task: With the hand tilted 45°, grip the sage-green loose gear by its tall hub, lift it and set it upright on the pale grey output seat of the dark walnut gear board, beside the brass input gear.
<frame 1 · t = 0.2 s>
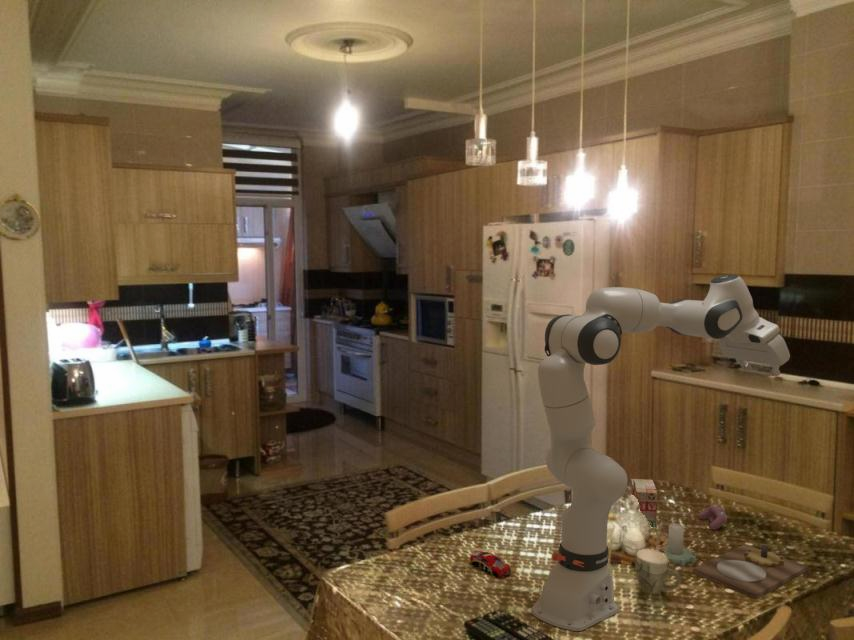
hand: (761, 372, 190), 54 cm above the table, tool tilted 30°, fingers open, 8 cm apart
loose gear: (675, 557, 199), on the table
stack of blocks: (642, 517, 230), on the table
race car: (490, 570, 193), on the table
purple curved piece: (713, 525, 223), on the table
gear board: (750, 571, 190), on the table
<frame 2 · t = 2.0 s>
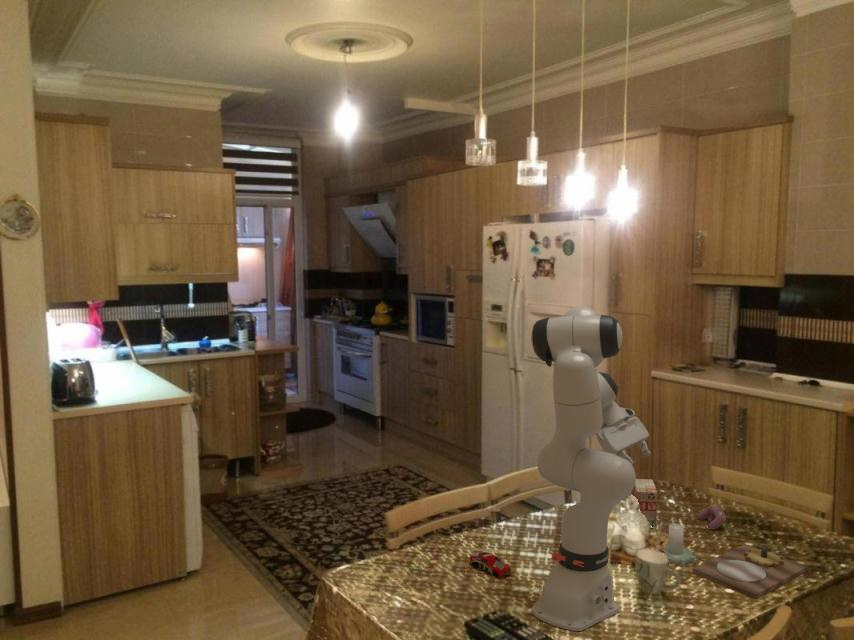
hand: (640, 459, 205), 26 cm above the table, tool tilted 45°, fingers open, 8 cm apart
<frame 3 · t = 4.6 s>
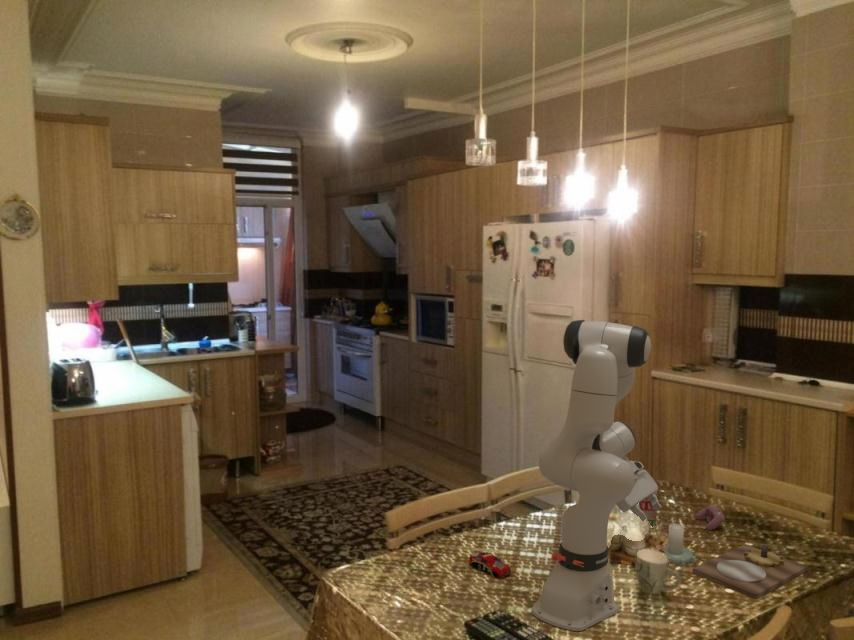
hand: (652, 514, 203), 11 cm above the table, tool tilted 45°, fingers open, 8 cm apart
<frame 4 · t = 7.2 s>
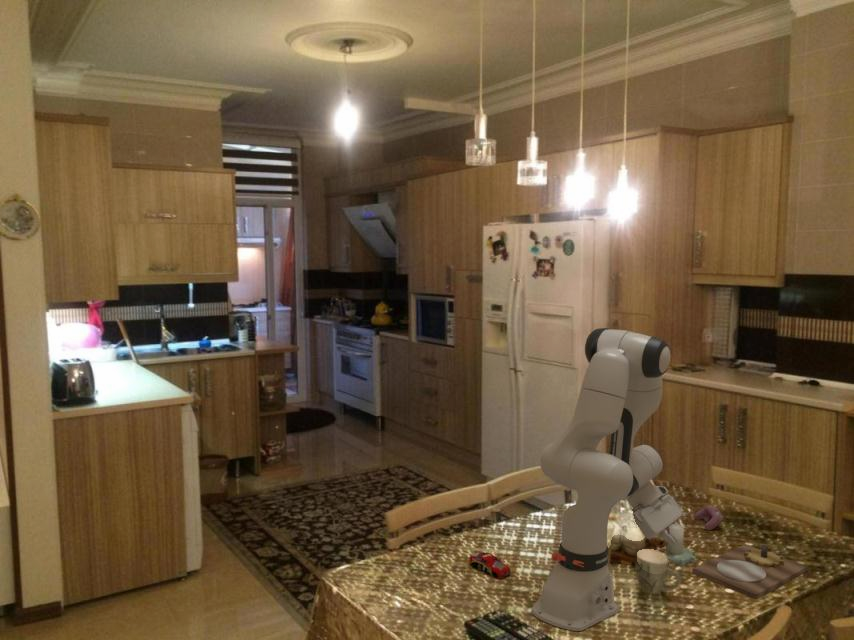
hand: (678, 541, 199), 5 cm above the table, tool tilted 45°, fingers closed on loose gear, 4 cm apart
loose gear: (675, 557, 199), on the table, touching gripper
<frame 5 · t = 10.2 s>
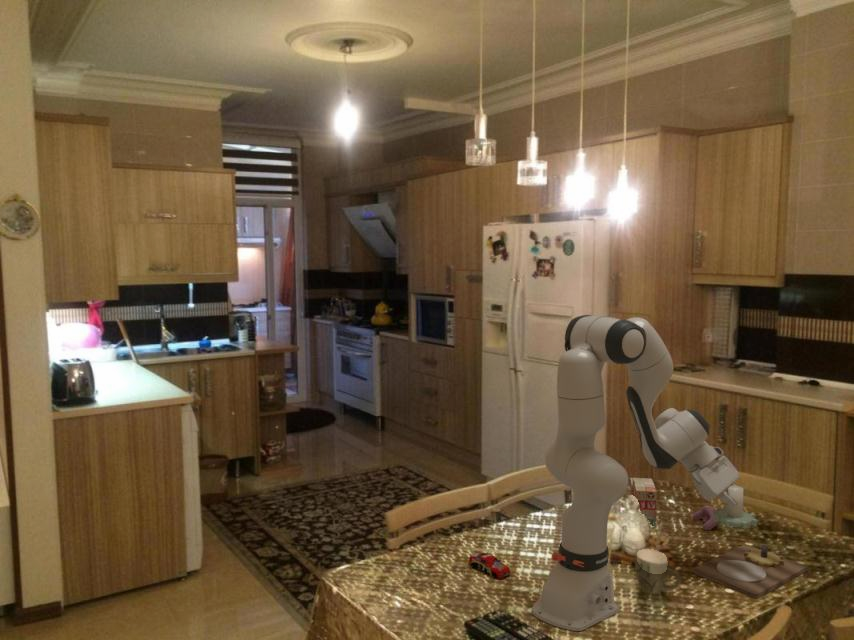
hand: (737, 503, 187), 20 cm above the table, tool tilted 45°, fingers closed on loose gear, 4 cm apart
loose gear: (734, 520, 188), point 15 cm above the table, touching gripper
when the fingers open (8 cm above the table, at t = 13.5 s): loose gear drops 1 cm, resting on gear board.
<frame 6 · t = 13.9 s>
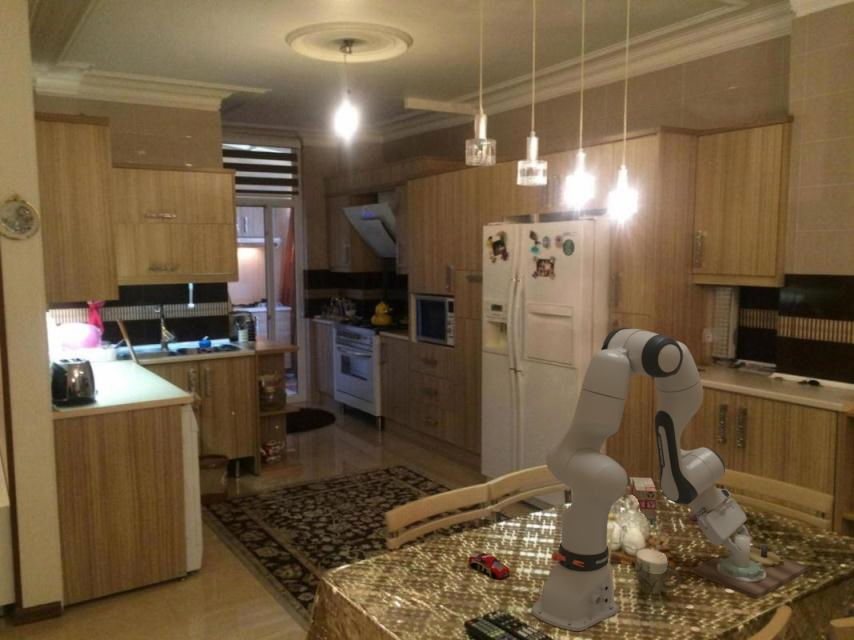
hand: (744, 547, 186), 8 cm above the table, tool tilted 45°, fingers open, 8 cm apart
loose gear: (741, 569, 187), point 2 cm above the table, touching gear board
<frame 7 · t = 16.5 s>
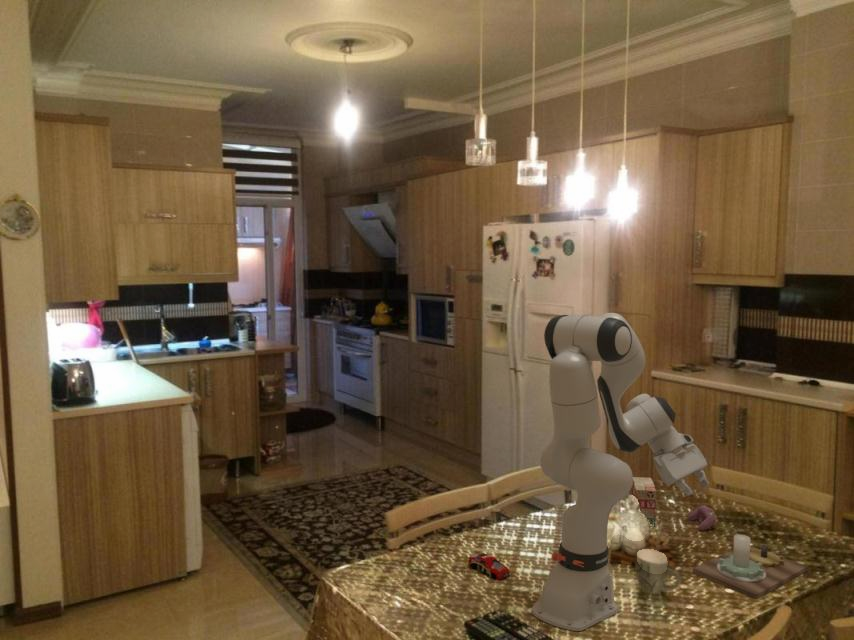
hand: (698, 490, 192), 21 cm above the table, tool tilted 40°, fingers open, 8 cm apart
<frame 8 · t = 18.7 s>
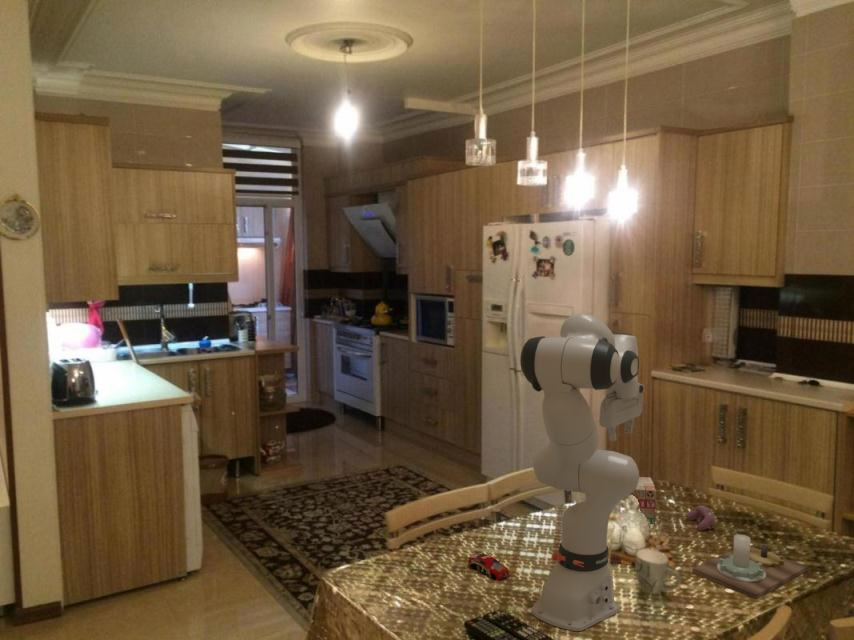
hand: (620, 436, 200), 34 cm above the table, tool pointing down, fingers open, 8 cm apart
at the end: loose gear 0.1 cm from the target spot, point 1.8 cm above the table; loose gear tilted 0°; the gripper is holding nothing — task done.
